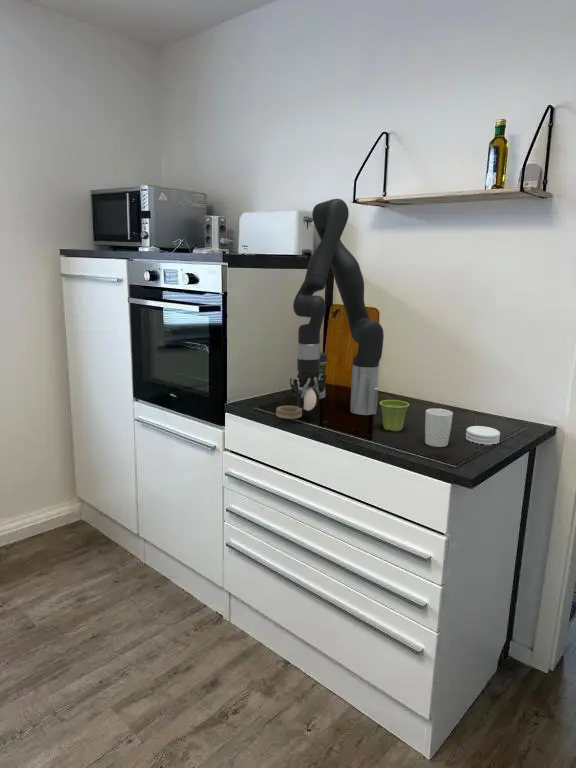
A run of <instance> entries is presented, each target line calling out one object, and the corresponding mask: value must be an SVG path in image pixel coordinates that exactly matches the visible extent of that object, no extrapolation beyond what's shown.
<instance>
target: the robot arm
mask: <svg viewBox="0 0 576 768" xmlns="http://www.w3.org/2000/svg"><path fill="white" fill-rule="evenodd" d="M349 213H350V211H349V207H348V205H347V203H346V202H345V201H344V200H343V199H341V198H333V199H329V200H326V201H323V202H319V203H318V204H316V205H315V206H314V207H313V209H312V212H311V214H312V221H313V224H314V227H315V231H316V233H317V234H318V237H319V239H320V242H319V244H318V246H317V247H316V248H315V250H314V252H313V253H312V255H311V257H310V259H309V261H308V264H307V269H306V272H305V276H304V277H305V278H304V281H303V282H302V284H301V285H300V287H299V290H298V292H297V293H296V295H295V297H294V300H293V305H292V307H293V312H294V314H295V315H296V316H297V317H301V318H303V317H304V318H310V320H309V322H308V323H307V324H301V325H299V327H298V331H297V333H298V334H297V335H298V337H297V341H298V343H297V351H296V352H297V354H296V355H297V356H296V357H297V359H296V362H297V363H296V366H297V367H296V370H297V372H298V373H297V376H296V377H294V378H293V377H292V378H291V377H290V379H289V383H290V390H291V394H292V396H294V397H296V405H297V407H299V408H301V409H302V410H303V408H304V398H303V396H304V393H305V391H306V390H307V388H309V387H310V388H312V389H313V390H314V392H315V394H316V405H315V406H316V407H317V406H318V405H319V401H320V400H319V394H320V393H321V392H324V387H325V388H326V379H327V375H326V374H325V375H324V374H319V371H320V352H321V346H320V345H321V343H320V342H321V341H320V340H321V327H322V325H323V321H324V317H325V314H326V310H327V309H326V308H327V303H326V300H325V299H324V297H323V296H321V295H314V294H315V293H317V292H320V291H323V290H324V289H325V288H326V286H327V283H328V281H327V280H328V277H329V272H330V268H331V271H332V274H333V279H334V281H335V284H336V286H337V287H336V288H337V289H338V292H339V296H340V297H341V298H340V299H341V301H342V303H343V306H344V309H345V312H346V316H347V321H348V327H349V331H350V335H351V338H352V340H353V341H354V342H355V343H357V344H358V347H357V353H356V354H355V355H354V356H353V358H352V370H351V371H352V372H351V392H350V404H349V405H350V407H349V408H350V410H349V412H350V413H352V414H355V415H359V416H360V415H361V416H370V415H371V416H372V415H377V410H378V409H377V408H378V395H379V393H378V392H379V388H378V386H379V382H378V381H379V368H380V361H381V358H382V355H383V348H384V347H383V346H384V334H385V333H384V329H383V327H382V324H380V323H379V322H378V321H374V320H371V318H370V316H369V313H368V311H367V310H368V309H367V308H366V307H367V306H366V304H365V281H364V276H363V273H362V271H361V266H360V264H359V262H358V260H357V259H356V257H354V255H353V254H352V253H351V252H350V251H349V249H348V248H347V247H346V246H345V245H344V243H343V242H342V240H341V238H342V236H343V233H344V230H345V228H346V225H347V222H348V220H349V215H350V214H349ZM317 380H318V382H317ZM302 387H303V388H302ZM301 390H302V391H301ZM315 406H314V407H315Z"/></svg>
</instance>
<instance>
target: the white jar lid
mask: <svg viewBox="0 0 576 768" xmlns="http://www.w3.org/2000/svg"><path fill="white" fill-rule="evenodd" d="M500 436H501V432H500V430H498V429H496V428H493V427H489V426H484V425H483V426H482V425H474V426H473V425H472V426H469V427H467V428H466V431H465V439H466V440H467V441H468V442H469V441H470V442H469V443H472V442H474V443H473V444H475V443H478V444H477V445H480V444H484V445H483V446H493V445H492V444H496V445H497V443H498V444H499V443H500V438H501V437H500Z"/></svg>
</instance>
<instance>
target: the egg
mask: <svg viewBox="0 0 576 768" xmlns="http://www.w3.org/2000/svg"><path fill="white" fill-rule="evenodd" d="M303 398H304V408H302V410H305V411H312V410H313V409H314V408H315V405H316V394H315V392H314V390H313V389H312V388H310V387H309V388H307V390H306V391H305V393H304V396H303Z"/></svg>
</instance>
